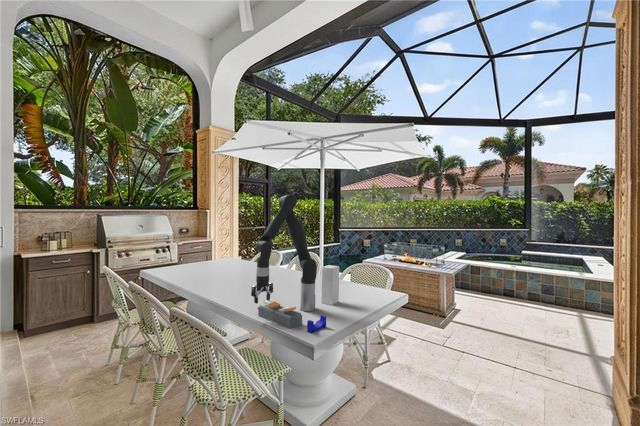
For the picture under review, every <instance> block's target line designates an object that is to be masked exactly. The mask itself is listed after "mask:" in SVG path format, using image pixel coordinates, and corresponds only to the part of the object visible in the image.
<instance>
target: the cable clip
mask: <svg viewBox="0 0 640 426" xmlns="http://www.w3.org/2000/svg"><path fill="white" fill-rule="evenodd" d="M306 323H307V324H306V325H307V326H306V327H307V328H306V329H307V330H306V332H307V333H309V334H314V333H316V332H318V331H320V330H323V329H325V328H327V316H326V315H323V314H321V315H320V316H319V319H318V320H316V322H315V323H314V321H313V320H310V319H309V320H307V322H306Z"/></svg>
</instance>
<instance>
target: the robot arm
mask: <svg viewBox="0 0 640 426" xmlns="http://www.w3.org/2000/svg"><path fill="white" fill-rule="evenodd" d="M278 206H279V211H278V212H277V214H276V215H275V216H274V217H273V219H272V220H271V221H270V223H269V224H268V226H267V228H266V229H265V231H264V233H263V234H262V235H261V236H260V237H259V238H258V240H257V242H256V244H255V250H256V251H257V252H258V253H260V255H259V257H257V261H256V272H255V273H256V275H255V276H256V277H255V278H256V279H255V282H256V285H252V286H251V293H250V296H251V297H253V300H254V301H253V302H254V304H259V295H260V294H261V293H263V292H265V293H266V299H265V301H267V300H268V301H269V300H270V299H271V294H272V293H273V292H274V283H273V282H270V259H271V255H272V251H273V250H272V249H273V248H272V244H271V243H270V242H271V241H273V240H275V238H276V237H277V236H278V233H279V232H280V229H281V228H282V226H283V224H284V223H285V224H286V226H287V230H288V233H289V236H290V238H291V241H292V244H293V246H294V248H295V250H296V251H295V252H296V253H297V258H298V262H299V265H300V268H301V270H302V275H301V278H300V305H299V307H300V311H303V312H313V311H316V279H317V270H318V269H317V268H318V267H317V266H318V264H317V262H316V259H314V258H312V257H311V254H310V252H309V249H308V241H307V234H306V232H305V230H304V226H303V224H302V223H301V222H300V221H299V219H298V217H297V215H296V214H295V212H294V209H295V207H296V206H297V198H296V197H295V195H293V194H286V195H282V196H281V197H280V198H279V199H278Z"/></svg>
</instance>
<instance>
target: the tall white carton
mask: <svg viewBox="0 0 640 426" xmlns="http://www.w3.org/2000/svg"><path fill="white" fill-rule="evenodd" d="M339 296H340V266H339V265H333V264H332V265H331V264H328V265H325V266H322V268H321V304H326V305H329V306H333V305H336V304H338V303H339V299H340V297H339Z"/></svg>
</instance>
